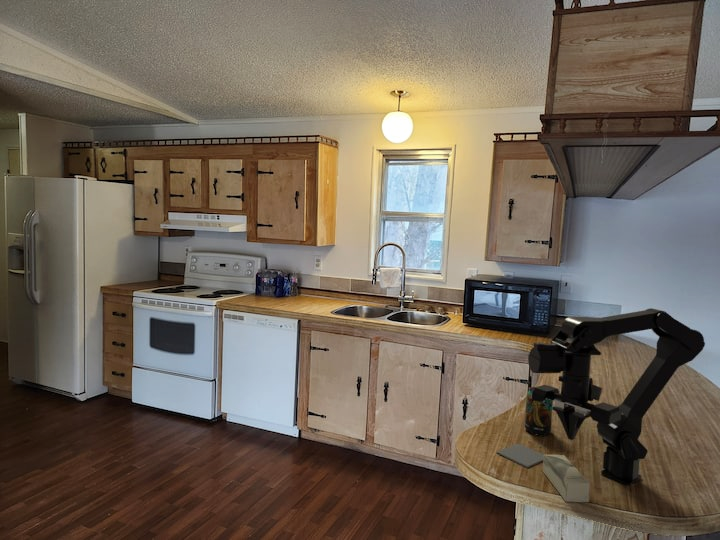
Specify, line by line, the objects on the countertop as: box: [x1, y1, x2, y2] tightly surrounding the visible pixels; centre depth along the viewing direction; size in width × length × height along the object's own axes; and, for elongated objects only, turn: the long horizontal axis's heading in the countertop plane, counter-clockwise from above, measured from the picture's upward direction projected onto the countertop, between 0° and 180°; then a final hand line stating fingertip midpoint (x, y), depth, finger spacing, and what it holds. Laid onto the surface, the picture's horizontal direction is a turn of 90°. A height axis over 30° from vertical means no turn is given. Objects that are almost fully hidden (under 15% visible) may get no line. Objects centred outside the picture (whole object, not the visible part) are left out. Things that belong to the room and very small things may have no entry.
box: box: [542, 454, 591, 503], centre depth 106 cm, size 5×4×13 cm
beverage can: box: [524, 386, 554, 436], centre depth 136 cm, size 7×7×12 cm
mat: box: [496, 443, 545, 469], centre depth 120 cm, size 9×9×1 cm
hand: (571, 439), depth 110 cm, fingers closed
